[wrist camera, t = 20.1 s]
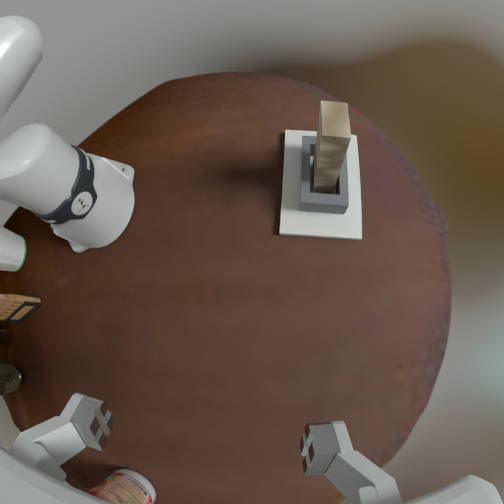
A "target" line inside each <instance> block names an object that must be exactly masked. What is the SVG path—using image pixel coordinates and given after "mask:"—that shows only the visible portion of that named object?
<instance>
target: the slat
mask: <svg viewBox="0 0 504 504" xmlns="http://www.w3.org/2000/svg"><path fill="white" fill-rule="evenodd" d="M350 140H351V133H350V122H349V113H348V105H347V103H341V102H331V101H321V104H320V112H319V121H318V129H317V136H316V144H315V151H314V159H313V180H312V193H322V194H332V193H333V191H334V188H335V185H336V182H337V179H338V176H339V173H340V170H341V167H342V164H343V161H344V158H345V155H346V152H347V149H348V146H349V143H350Z"/></svg>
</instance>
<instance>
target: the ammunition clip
mask: <svg viewBox="0 0 504 504" xmlns="http://www.w3.org/2000/svg"><path fill="white" fill-rule="evenodd" d="M41 305H42V301H41V297H40V296H35V295H26V294H22V295H15V294H11V295H10V294H0V320H4V322H15V323H20V322H21V321H22V320H24V319H25V318H26V317H27V316H28V315H30V314H31V313H32V312H33V311H35V310H36V309H37V308H38V307H40V306H41Z"/></svg>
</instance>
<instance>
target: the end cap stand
mask: <svg viewBox="0 0 504 504" xmlns="http://www.w3.org/2000/svg"><path fill="white" fill-rule="evenodd" d="M316 136H317V132H314V131H298V130H285V151H284V170H283V187H282V204H281V219H280V235H287V236H302V237H317V238H331V239H345V240H359V241H360V240H361V239H362V213H361V188H360V172H359V159H358V147H357V138H356V135H351V140H350V143H349V146H348V149H347V152H346V155H345V158H344V161H343V164H342V167H341V170H340V173H339V176H338V179H337V182H336V185H335V188H334V191H333V193H332V194H322V193H312V180H313V159H314V151H315V144H316Z"/></svg>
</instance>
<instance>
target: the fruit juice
mask: <svg viewBox="0 0 504 504" xmlns="http://www.w3.org/2000/svg"><path fill="white" fill-rule="evenodd" d="M87 493H88V494H91V495H93V496H96V497H99V498H101V499H104V500H107V501H110V502H113V503H116V504H153V503H154V501H155V499H156V492H155V489H154V487H153V486H152V484H151V483H150V482H149V481H148V480H147V479H146V478H145V477H143V476H142V475H141V474H139V473H137V472H135V471H133V470H129V469H119V470H117V471H115V472H113V473H112V474H111V475H110V476H108V477H107V478H106V479H104V480H103V481H102V482H100V483H99V484H98V485H96V486H95V487H93V488H92V489H91V490H89V491H88V492H87Z"/></svg>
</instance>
